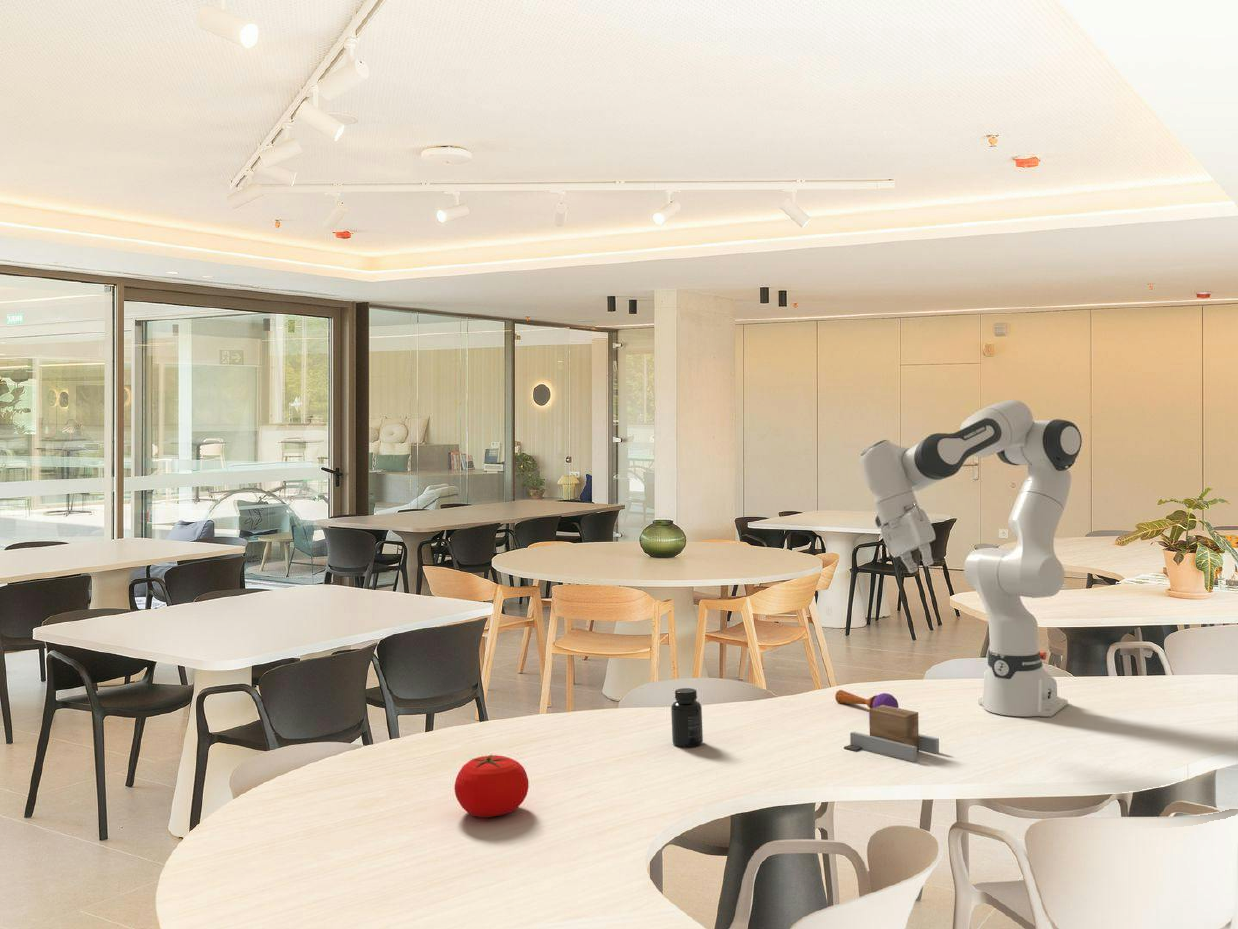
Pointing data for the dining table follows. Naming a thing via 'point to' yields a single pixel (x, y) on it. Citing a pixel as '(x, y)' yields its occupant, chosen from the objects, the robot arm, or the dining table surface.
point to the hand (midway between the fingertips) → (921, 568)
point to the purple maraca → (871, 702)
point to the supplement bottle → (686, 719)
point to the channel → (892, 746)
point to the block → (894, 725)
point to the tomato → (491, 786)
